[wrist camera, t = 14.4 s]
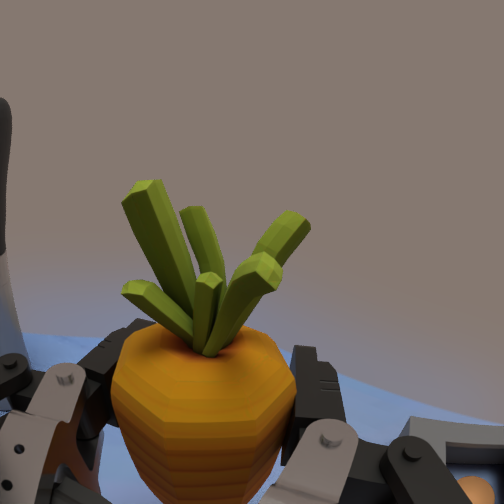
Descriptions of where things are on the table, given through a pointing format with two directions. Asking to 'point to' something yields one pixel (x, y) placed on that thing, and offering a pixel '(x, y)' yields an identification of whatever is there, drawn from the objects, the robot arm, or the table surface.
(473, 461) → the box
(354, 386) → the table surface
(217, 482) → the carrot
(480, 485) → the button
